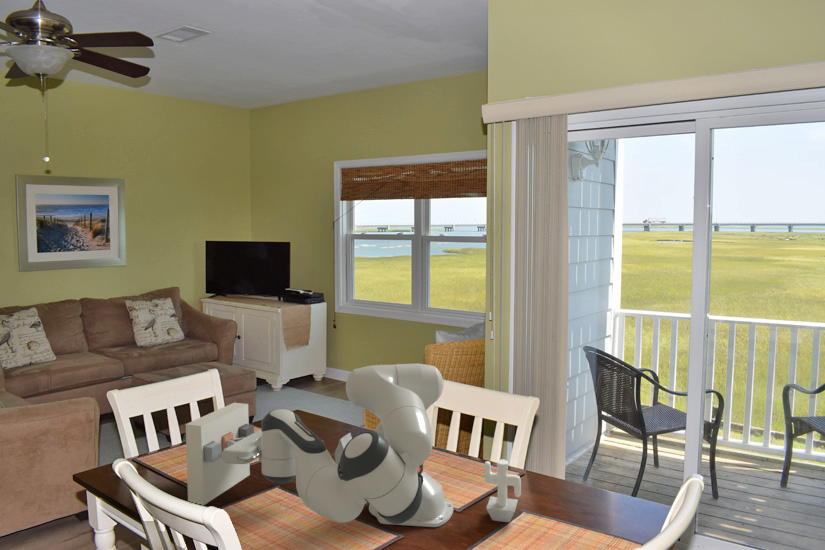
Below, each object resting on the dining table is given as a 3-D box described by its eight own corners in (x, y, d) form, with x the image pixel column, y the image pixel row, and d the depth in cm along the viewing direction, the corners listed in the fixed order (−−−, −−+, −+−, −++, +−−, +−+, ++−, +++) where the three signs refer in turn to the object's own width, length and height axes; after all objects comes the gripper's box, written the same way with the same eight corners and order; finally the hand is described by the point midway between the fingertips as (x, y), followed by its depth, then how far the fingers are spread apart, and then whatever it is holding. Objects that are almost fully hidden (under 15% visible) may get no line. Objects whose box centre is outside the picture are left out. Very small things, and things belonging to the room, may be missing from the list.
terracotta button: (233, 446, 179) (233, 433, 179) (225, 451, 175) (224, 437, 175) (221, 445, 180) (221, 431, 180) (213, 449, 177) (212, 436, 176)
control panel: (249, 474, 189) (248, 404, 187) (203, 505, 168) (201, 426, 166) (235, 472, 190) (234, 402, 189) (188, 502, 170) (185, 424, 168)
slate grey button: (221, 457, 171) (221, 442, 171) (212, 462, 167) (211, 447, 167) (209, 455, 172) (208, 441, 172) (199, 460, 169) (199, 446, 168)
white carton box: (355, 464, 197) (355, 433, 197) (346, 471, 191) (345, 440, 190) (345, 462, 199) (344, 432, 198) (335, 470, 192) (334, 438, 192)
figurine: (518, 526, 156) (519, 468, 155) (481, 521, 159) (482, 464, 157) (522, 513, 163) (522, 458, 162) (486, 509, 165) (486, 454, 164)
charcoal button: (254, 438, 186) (253, 425, 186) (246, 442, 182) (246, 429, 182) (242, 436, 187) (242, 423, 187) (234, 441, 184) (234, 428, 183)
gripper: (250, 472, 163) (206, 466, 167) (290, 446, 182) (249, 441, 187) (249, 449, 163) (205, 443, 167) (289, 425, 182) (249, 421, 186)
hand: (229, 442), depth 177 cm, fingers closed, pressing on terracotta button
